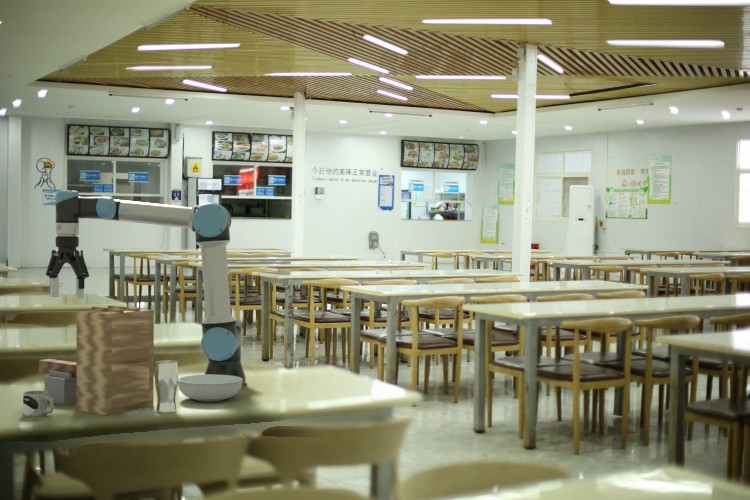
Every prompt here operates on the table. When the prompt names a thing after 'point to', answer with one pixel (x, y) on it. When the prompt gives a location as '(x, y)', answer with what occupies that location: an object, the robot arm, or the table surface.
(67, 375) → the grey cradle
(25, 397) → the mug
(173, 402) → the beer glass
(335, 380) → the table surface
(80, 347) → the oak stand
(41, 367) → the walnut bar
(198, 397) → the serving bowl
